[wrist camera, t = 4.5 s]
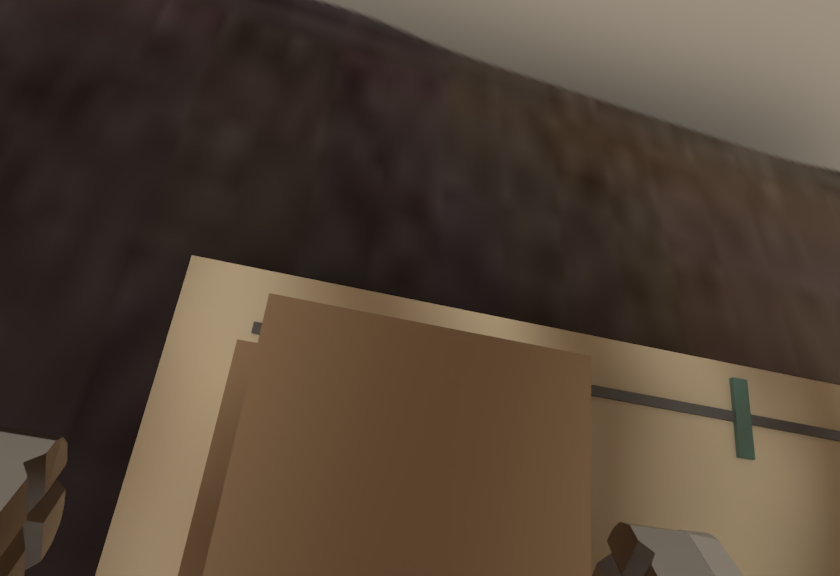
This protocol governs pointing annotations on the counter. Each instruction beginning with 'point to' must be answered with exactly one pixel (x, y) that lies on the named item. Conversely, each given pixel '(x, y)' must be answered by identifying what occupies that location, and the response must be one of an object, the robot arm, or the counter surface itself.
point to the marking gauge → (394, 453)
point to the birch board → (610, 432)
